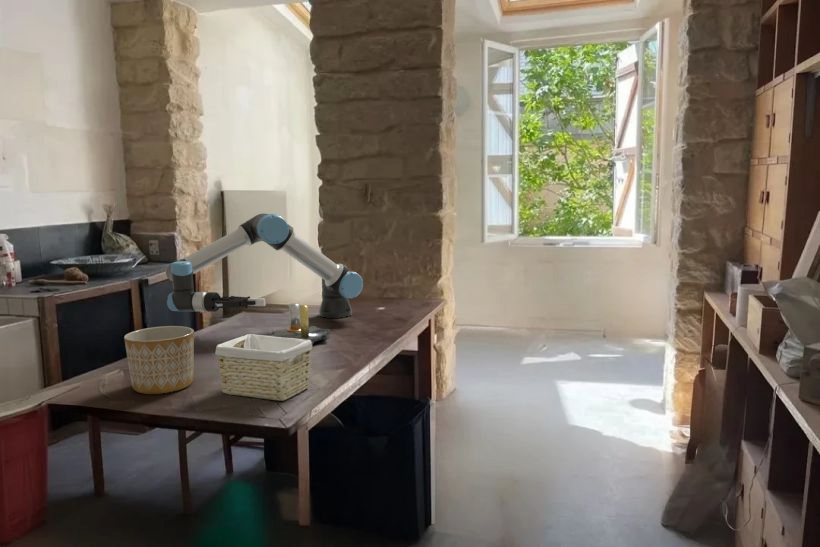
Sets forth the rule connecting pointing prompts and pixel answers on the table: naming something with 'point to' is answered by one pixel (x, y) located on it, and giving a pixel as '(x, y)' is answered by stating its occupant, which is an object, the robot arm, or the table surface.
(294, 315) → the roller
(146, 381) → the planter
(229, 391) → the storage basket
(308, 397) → the table surface
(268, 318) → the table surface
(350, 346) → the table surface
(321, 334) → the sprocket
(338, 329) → the table surface
